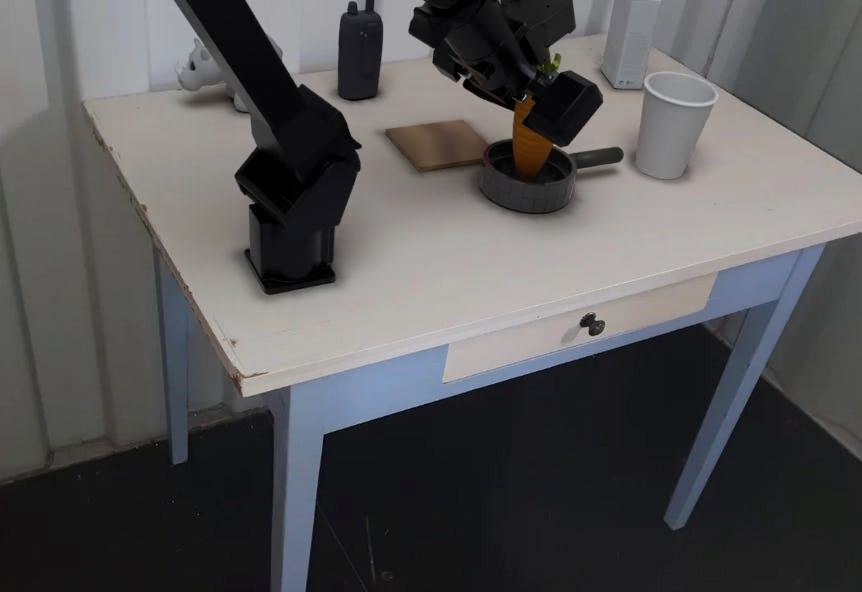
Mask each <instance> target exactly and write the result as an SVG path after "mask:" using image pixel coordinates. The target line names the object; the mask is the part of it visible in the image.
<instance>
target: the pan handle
mask: <svg viewBox="0 0 862 592" xmlns="http://www.w3.org/2000/svg"><path fill="white" fill-rule="evenodd" d="M567 154H568V155H570V156H571V157H572V158H573V160H574V161H575V163H576V166H577V170H582V169H587V168H594V167H602V166H606V165H612V164H619V163H620V162H622V161H623V160H624V157H625V152H624V150H623V149H622V148H621V147H619V146H610V147H604V148H597V149H592V150H585V151H577V152H572V153H571V152H570V153H567Z"/></svg>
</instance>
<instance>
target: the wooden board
mask: <svg viewBox="0 0 862 592" xmlns="http://www.w3.org/2000/svg"><path fill="white" fill-rule="evenodd" d="M384 134H385V135H386V136H387V137H388V139H389V140H390V141H391V142H392V143H393V145H395V147H396V148H398V150H399V151H400V152H401V153H402V154H403V156H405V158H406V159H407V160H408V161H409V162H410V163H411V164H412V166H413V167H414V168H415V169H416V170H417V171H418V172H419V173H422V172H428V171H434V170H442V169H448V168H449V169H450V168H454V167H461V166H468V165H474V164H481V163H482V157H483V152H484V150H485V149H486V147H487V146H489V145H490V144H488V143H487V142H486V140H484V139H483V138H482V137H481V136H480V135H479V134H478V133H477V132H476V131H475V130H474V129H473V128H472V127H471V126H470V124H469V125H468V123H467V122H466V121H465V120H464V119H456V120H455V119H454V120H447V121H440V122H431V123H424V124H416V125H406V126H399V127H391V128H385V131H384Z"/></svg>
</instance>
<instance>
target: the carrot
mask: <svg viewBox="0 0 862 592" xmlns="http://www.w3.org/2000/svg"><path fill="white" fill-rule="evenodd" d="M545 49H546V51H547V52H548V54H549V55H550V58H549V59H548V60H547V61H546V63H545V64H544V65H543V66H542V67H541V66H539V65H538V66H537V67H536V69H538V70H540V71H542V72H543V73H545V74H548V73H549V72H552V71H556V72H558V70H559V67H560V64H561V61H562V55H561V54H560V53H558V52H555V54H554V57H553V62H552V60H551V59H552V57H551V50H550V47H548V48H545ZM543 85H545V86H546V84H545V83H544V84H543ZM523 92H524V91H523ZM525 94H526V92H525ZM531 98H532V96H531V95H529V94H528V98H527V99H526V101H525V102H524V103H519V102H518V101H516V104H515V111H514V112H513V121H512V138H513V155H514V160H515V165H516V168H517V172H518V175H519V178H520V180H521V181H525V182H530V181H531V180H532V179H533V178H534V177H535V175H536V174H537V173H538V172H539V171H540V169H541V168H542V166H543V165H544V163H545V162H546V160H547V158H548V156H549V153H550V151H551V149H552V147H553V146H554V144H553V143H552V142H550V141H548V140H547V139H545V138H544V137H542V136H541V135H538V134H537V133H535V132H533V131H532V130H530V129H529V128H527V127H525V126H524V125H522V124H521V123H522V121H523V120H524V119H525V118H526V116H527V115H528V114H529V113H530V110H531V108H532V106H534V104H533V103H532V102H531V101H530V99H531Z"/></svg>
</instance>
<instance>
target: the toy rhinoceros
mask: <svg viewBox="0 0 862 592" xmlns="http://www.w3.org/2000/svg"><path fill="white" fill-rule="evenodd" d="M266 35H267V37H268V38H269V40H270V42H271V43H272V45H273V47H274V48H275V50H276V52H277V53H278V55H279V57H280V58H281V60H282V61H283V56H284V54H283V53H284V52H283V50H282V48H281V47H280V46H279V45H278V44H277V43H276V41H275V40H274V39H273V38H272V37H271V36H270V35H269V34H268V33H266ZM193 42H194V44H195V47H194V48H193V49H192V51H191V52H190V53H188V54H189V55H188V61H187V63H182V67H181V66H180V65H179V64H180V63H179V61H178V59H176V60H175V62H174V64H173V70H174V72H175V74H176V76H177V82H178V84H179V86H180V87H181V88H182V89H183V90H185V91H187V92H197V91H199V90H200V89H201V88H203V87H205V86H214V85H217V84H219V83H220V82H224V83H225V93H226V96H228V97H230V98H231V99H233V105H234V108H235V110H237V111H240V112H243V113H244V112H245V113H249V111H248V109H247V108H246V106H245V105H244V103H243V102H242V100H241V99H240V97H239V96H238V94H237V93H236V91H235V90H234V88H233V87H232V86H231V84H230V83H229V81H228V80H227V78H226V77H225V75H224V74H223V72H222V71H221V69H220V68H219V66H218V65H217V63H216V62H215V60H214V59H213V58H212V56H211V55H210V53H209V52H208V50H207V49H206V47H205V46H204V44H203V43H202V41H201V40H200V39H199V38H197V37H194V38H193Z"/></svg>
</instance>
